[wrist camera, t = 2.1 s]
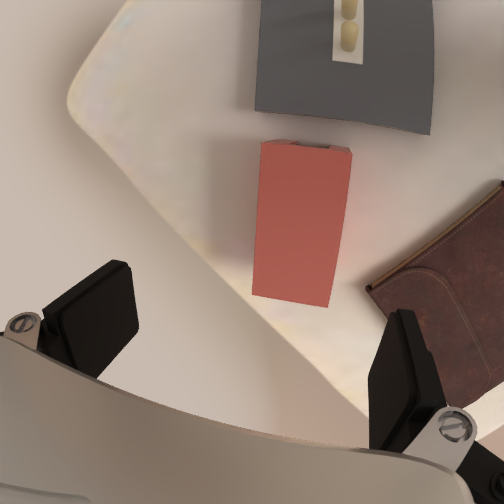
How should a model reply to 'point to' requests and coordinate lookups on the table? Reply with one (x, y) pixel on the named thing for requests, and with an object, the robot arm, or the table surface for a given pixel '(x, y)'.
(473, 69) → the table surface
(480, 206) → the notebook
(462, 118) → the table surface
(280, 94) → the board
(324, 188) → the block
